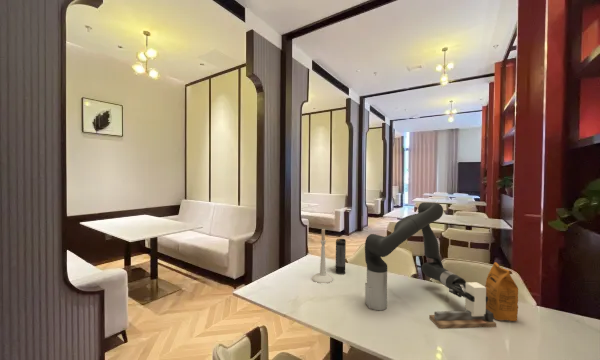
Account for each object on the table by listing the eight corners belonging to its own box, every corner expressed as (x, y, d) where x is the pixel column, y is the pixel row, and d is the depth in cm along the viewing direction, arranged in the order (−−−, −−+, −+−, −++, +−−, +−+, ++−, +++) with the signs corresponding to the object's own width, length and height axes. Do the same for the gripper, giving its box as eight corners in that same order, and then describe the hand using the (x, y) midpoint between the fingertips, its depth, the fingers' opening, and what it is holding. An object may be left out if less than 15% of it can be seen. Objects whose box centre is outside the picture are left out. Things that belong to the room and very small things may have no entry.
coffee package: (504, 309, 116) (506, 262, 115) (521, 324, 104) (522, 272, 103) (480, 306, 118) (481, 260, 118) (493, 321, 106) (494, 269, 106)
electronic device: (345, 274, 154) (345, 242, 154) (335, 273, 155) (335, 242, 155) (345, 269, 163) (345, 238, 163) (336, 268, 165) (336, 238, 164)
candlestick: (335, 283, 141) (335, 231, 141) (312, 283, 141) (312, 230, 141) (332, 274, 154) (332, 226, 154) (311, 274, 154) (312, 226, 154)
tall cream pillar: (473, 317, 102) (474, 287, 102) (465, 310, 107) (465, 282, 107) (485, 317, 103) (486, 287, 102) (476, 310, 108) (476, 282, 107)
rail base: (439, 328, 101) (439, 316, 100) (429, 318, 108) (429, 306, 107) (496, 326, 102) (496, 314, 102) (482, 317, 109) (483, 305, 109)
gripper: (438, 274, 119) (463, 290, 102) (467, 273, 119) (497, 290, 102) (438, 289, 119) (463, 308, 102) (467, 289, 120) (497, 308, 103)
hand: (480, 299), depth 102 cm, fingers closed on tall cream pillar, 5 cm apart
